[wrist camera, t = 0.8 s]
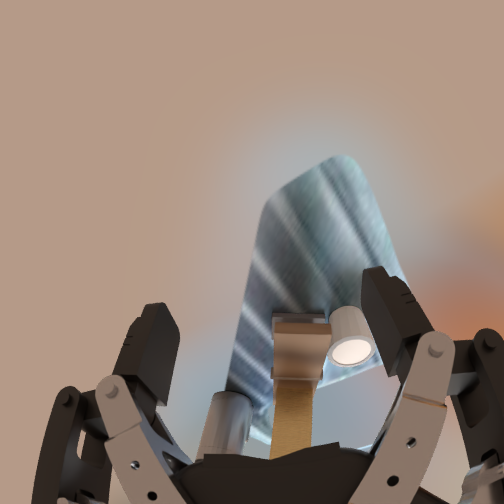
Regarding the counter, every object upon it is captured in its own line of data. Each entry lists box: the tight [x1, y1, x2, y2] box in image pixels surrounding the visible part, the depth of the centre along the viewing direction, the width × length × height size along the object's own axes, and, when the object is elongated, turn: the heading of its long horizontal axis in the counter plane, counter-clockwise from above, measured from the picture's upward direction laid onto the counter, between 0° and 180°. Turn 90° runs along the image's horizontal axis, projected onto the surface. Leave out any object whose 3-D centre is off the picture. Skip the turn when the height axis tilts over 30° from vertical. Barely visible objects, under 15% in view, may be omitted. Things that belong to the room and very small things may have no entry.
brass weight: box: [269, 387, 313, 460], centre depth 31 cm, size 5×5×12 cm
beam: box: [271, 322, 332, 405], centre depth 33 cm, size 20×7×2 cm, turn 3°
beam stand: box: [272, 313, 325, 340], centre depth 37 cm, size 5×8×8 cm, turn 92°
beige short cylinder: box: [327, 306, 376, 367], centre depth 36 cm, size 7×7×7 cm
